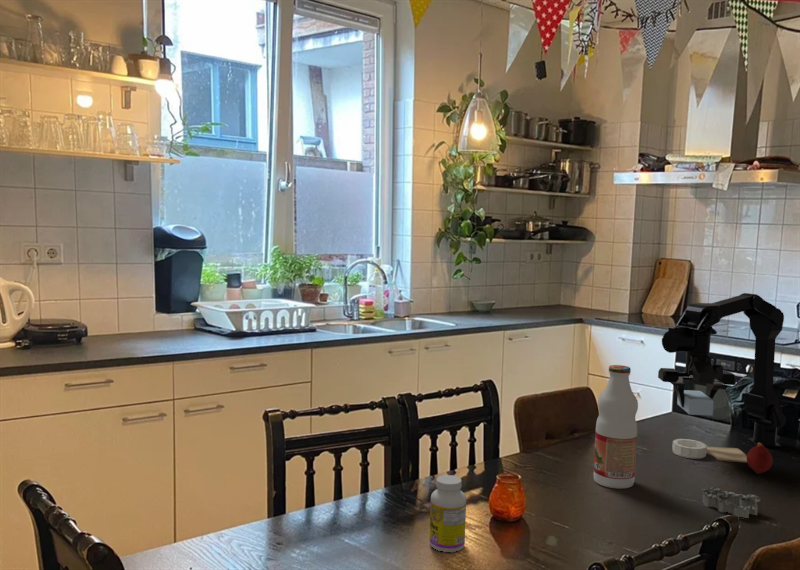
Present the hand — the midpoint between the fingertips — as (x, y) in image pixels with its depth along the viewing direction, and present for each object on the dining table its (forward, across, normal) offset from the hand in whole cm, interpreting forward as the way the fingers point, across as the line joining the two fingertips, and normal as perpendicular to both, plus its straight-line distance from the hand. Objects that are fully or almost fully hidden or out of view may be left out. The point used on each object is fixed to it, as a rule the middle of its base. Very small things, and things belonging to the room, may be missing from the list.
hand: (694, 407), depth 186 cm
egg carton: (+13, -3, -38) cm, 40 cm away
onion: (+13, +12, -13) cm, 22 cm away
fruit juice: (+13, -26, -26) cm, 39 cm away
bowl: (+13, -1, 0) cm, 13 cm away
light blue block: (0, 0, 0) cm, 0 cm away
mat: (+13, +10, +1) cm, 16 cm away
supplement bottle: (+13, -64, -66) cm, 93 cm away
